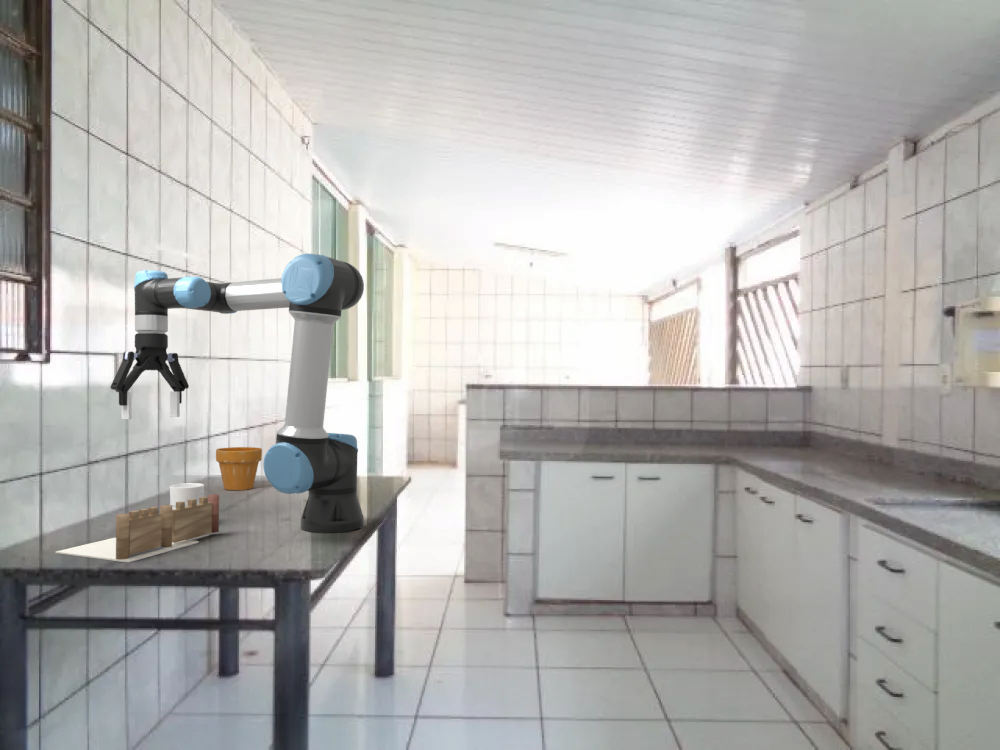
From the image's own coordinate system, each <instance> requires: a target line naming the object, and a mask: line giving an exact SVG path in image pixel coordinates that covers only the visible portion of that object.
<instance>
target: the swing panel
mask: <svg viewBox="0 0 1000 750" xmlns="http://www.w3.org/2000/svg"><path fill="white" fill-rule="evenodd" d="M219 528H220V494H217V493H215V494H214V493H213V494H208V495H207V496H204V497H200V498H199V504H198V505H197V499H190V500H188V507H185V502H182V501H180V502H176V509H174V510H172V543H176V542H180V541H184V540H191V539H194V538H195V539H196V538H199V537H201V536H206V535H210V534H215V533H219V532H220V529H219Z"/></svg>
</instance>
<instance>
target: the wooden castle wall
mask: <svg viewBox="0 0 1000 750" xmlns="http://www.w3.org/2000/svg"><path fill="white" fill-rule="evenodd" d="M115 519H116V520H115V537H116V559H118V560H122V559H128V558H129V555H132V554H135V553H139V552H143V551H147V550H150V549H154V548H158V547H171V546H172V505H170V504H162V505H159V507H158V506H152V507H148V508H141V509H138V510H131V511H129V512H128V513H118V514H116V515H115Z"/></svg>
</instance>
